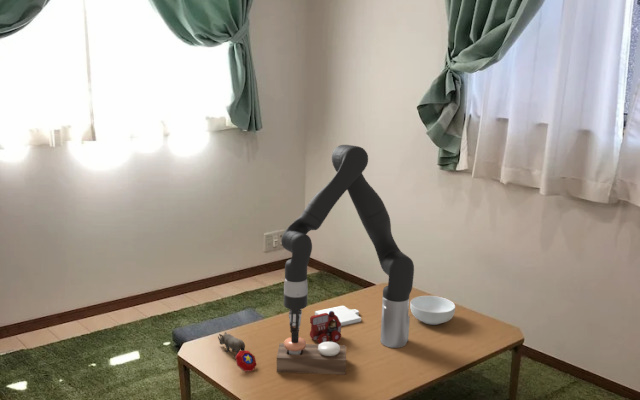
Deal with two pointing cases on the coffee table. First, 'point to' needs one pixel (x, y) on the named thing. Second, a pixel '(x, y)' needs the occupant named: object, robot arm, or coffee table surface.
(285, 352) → the plunger block
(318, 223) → the robot arm
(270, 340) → the coffee table surface
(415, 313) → the cereal bowl
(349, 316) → the mounting plate
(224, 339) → the rhino figurine
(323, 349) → the white mushroom knob
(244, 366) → the button
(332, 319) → the toy fire truck
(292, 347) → the peach dome
